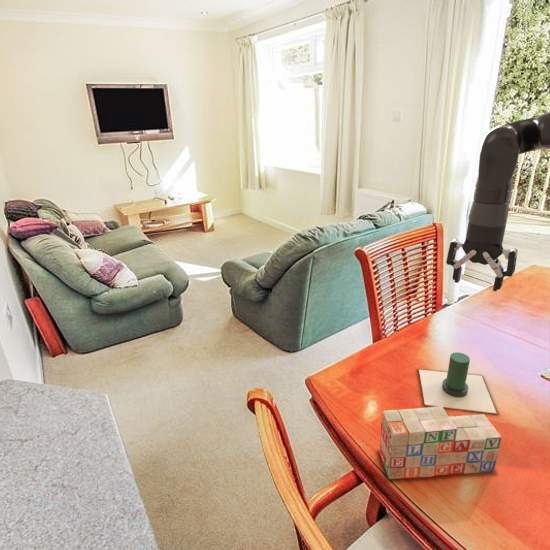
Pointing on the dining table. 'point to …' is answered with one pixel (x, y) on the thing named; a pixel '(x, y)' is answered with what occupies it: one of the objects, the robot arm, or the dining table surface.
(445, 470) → the stack of blocks
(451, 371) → the green cylinder with base
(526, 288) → the dining table surface
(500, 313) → the dining table surface
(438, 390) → the napkin
